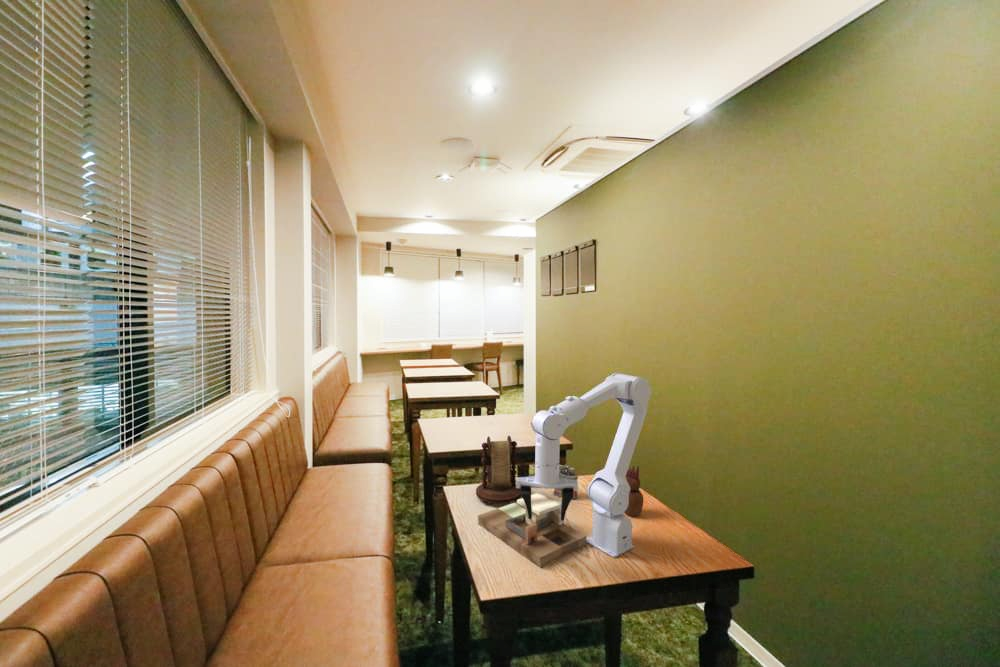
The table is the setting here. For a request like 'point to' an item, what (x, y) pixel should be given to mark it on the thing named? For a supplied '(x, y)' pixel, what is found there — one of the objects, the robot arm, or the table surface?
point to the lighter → (567, 474)
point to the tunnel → (550, 538)
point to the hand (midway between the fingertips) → (546, 517)
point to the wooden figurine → (634, 493)
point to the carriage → (529, 531)
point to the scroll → (499, 473)
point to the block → (535, 518)
